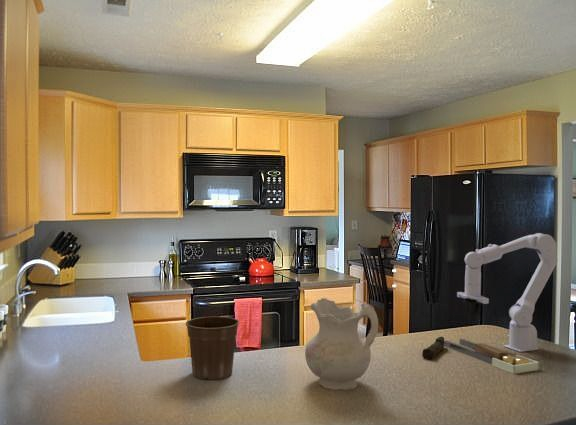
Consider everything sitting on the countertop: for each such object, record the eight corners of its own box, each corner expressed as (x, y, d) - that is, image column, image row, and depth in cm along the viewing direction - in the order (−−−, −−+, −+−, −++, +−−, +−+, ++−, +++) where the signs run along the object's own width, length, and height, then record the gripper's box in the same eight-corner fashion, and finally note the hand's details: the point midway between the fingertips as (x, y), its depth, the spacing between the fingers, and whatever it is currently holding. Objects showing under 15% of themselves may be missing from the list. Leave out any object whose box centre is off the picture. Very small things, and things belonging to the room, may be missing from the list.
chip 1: (507, 363, 177) (508, 354, 177) (517, 366, 173) (518, 357, 173) (499, 364, 175) (499, 355, 175) (509, 368, 171) (509, 359, 171)
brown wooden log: (433, 361, 178) (433, 348, 177) (421, 359, 180) (422, 345, 180) (450, 349, 193) (450, 337, 193) (439, 347, 195) (440, 335, 195)
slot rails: (462, 343, 200) (462, 338, 200) (512, 361, 178) (512, 356, 178) (444, 345, 197) (444, 340, 197) (492, 364, 175) (492, 358, 175)
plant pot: (174, 373, 159) (175, 321, 159) (215, 362, 171) (216, 313, 171) (207, 387, 148) (208, 330, 148) (249, 374, 160) (250, 322, 160)
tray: (516, 361, 178) (517, 354, 178) (539, 369, 170) (539, 362, 170) (492, 365, 173) (492, 357, 173) (513, 373, 165) (514, 365, 165)
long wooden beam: (484, 354, 188) (484, 343, 188) (507, 364, 176) (508, 352, 176) (474, 354, 186) (475, 343, 186) (498, 364, 175) (498, 353, 175)
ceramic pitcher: (383, 382, 158) (385, 300, 159) (372, 400, 139) (374, 306, 141) (314, 374, 165) (317, 295, 166) (295, 390, 146) (298, 300, 148)
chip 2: (518, 365, 174) (518, 356, 174) (530, 368, 171) (530, 359, 171) (512, 367, 172) (512, 358, 172) (524, 370, 169) (524, 361, 169)
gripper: (451, 281, 203) (450, 316, 203) (478, 287, 190) (477, 324, 190) (465, 280, 206) (464, 314, 206) (493, 286, 192) (492, 322, 193)
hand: (471, 319), depth 198 cm, fingers closed
